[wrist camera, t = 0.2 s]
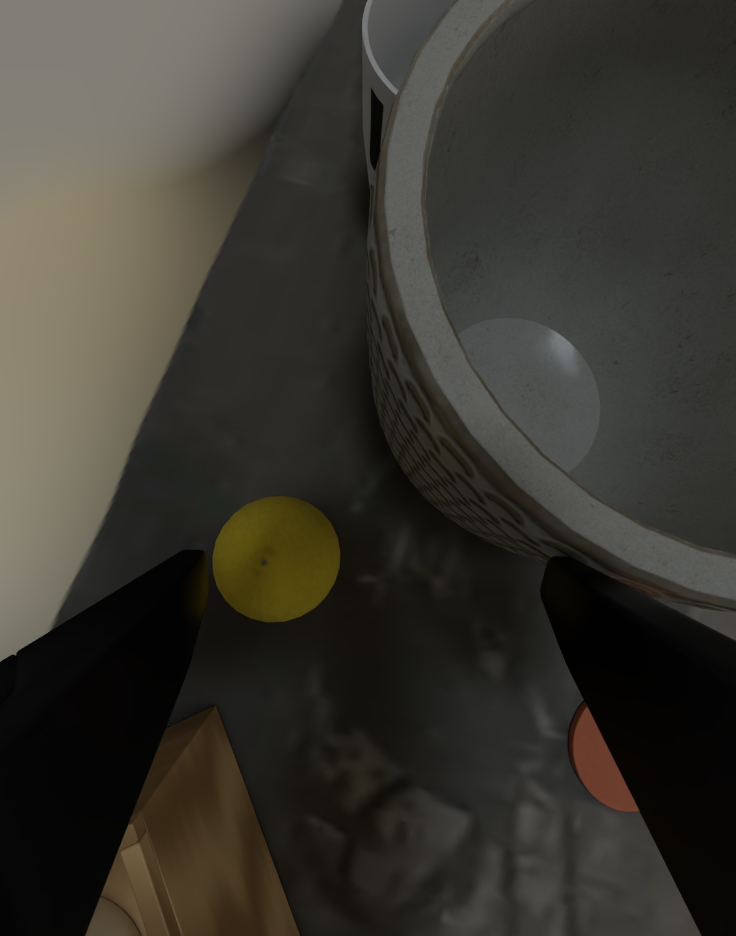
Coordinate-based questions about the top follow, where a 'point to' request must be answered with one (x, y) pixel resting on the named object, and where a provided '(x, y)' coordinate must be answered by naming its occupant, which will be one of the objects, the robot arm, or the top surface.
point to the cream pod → (110, 921)
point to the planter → (566, 284)
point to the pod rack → (197, 845)
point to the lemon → (276, 559)
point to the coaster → (597, 763)
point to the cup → (390, 59)
